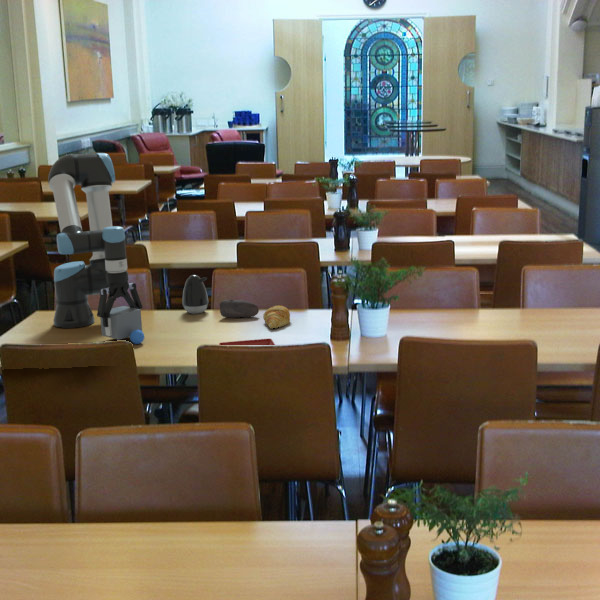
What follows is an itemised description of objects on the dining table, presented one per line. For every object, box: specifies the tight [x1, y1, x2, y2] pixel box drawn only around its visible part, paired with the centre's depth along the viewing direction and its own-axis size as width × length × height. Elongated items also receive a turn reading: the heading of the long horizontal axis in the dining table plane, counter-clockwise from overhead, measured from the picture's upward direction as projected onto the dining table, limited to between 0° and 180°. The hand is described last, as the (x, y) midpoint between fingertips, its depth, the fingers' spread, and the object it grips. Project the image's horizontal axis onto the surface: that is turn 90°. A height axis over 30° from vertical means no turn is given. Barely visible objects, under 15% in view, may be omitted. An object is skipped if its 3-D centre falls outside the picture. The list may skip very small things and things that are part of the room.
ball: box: [129, 330, 145, 345], centre depth 304 cm, size 5×5×5 cm
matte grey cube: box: [99, 305, 143, 341], centre depth 308 cm, size 10×10×9 cm
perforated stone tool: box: [218, 299, 259, 319], centre depth 335 cm, size 15×5×7 cm, turn 84°
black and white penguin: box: [182, 274, 209, 315], centre depth 344 cm, size 10×10×15 cm
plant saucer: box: [218, 338, 276, 346], centre depth 286 cm, size 18×18×3 cm
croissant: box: [263, 304, 291, 330], centre depth 325 cm, size 21×10×8 cm, turn 172°
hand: (121, 332), depth 309 cm, fingers closed on matte grey cube, 10 cm apart
